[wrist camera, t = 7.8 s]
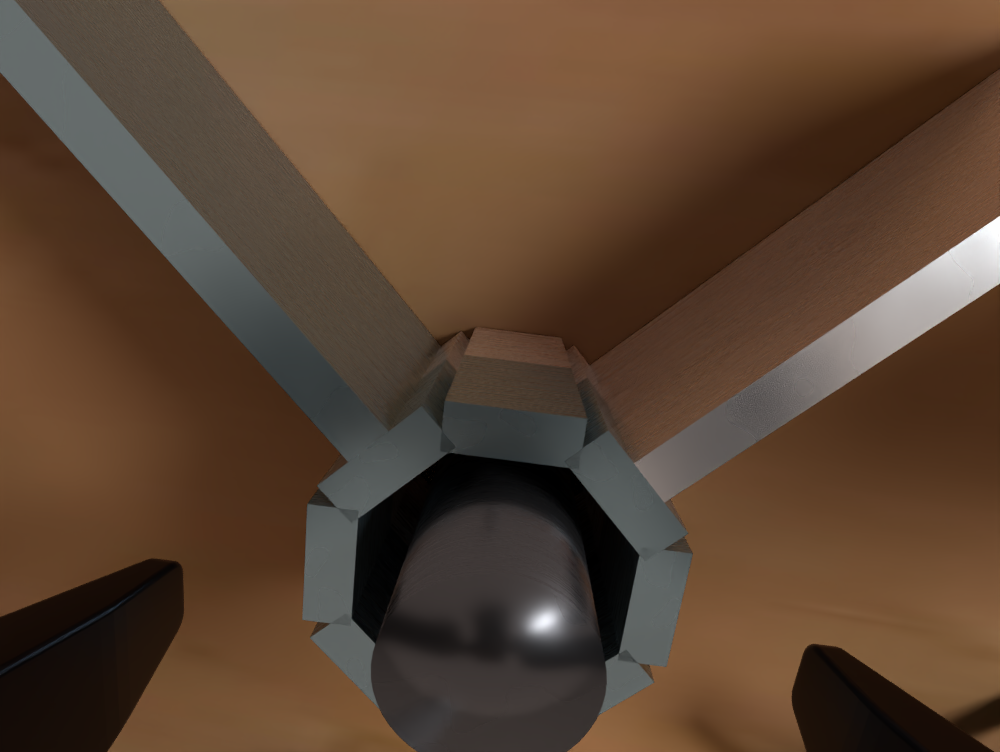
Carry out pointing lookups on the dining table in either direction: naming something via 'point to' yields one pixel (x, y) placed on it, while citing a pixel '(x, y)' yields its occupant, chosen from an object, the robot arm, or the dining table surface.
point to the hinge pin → (492, 616)
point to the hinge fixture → (497, 353)
